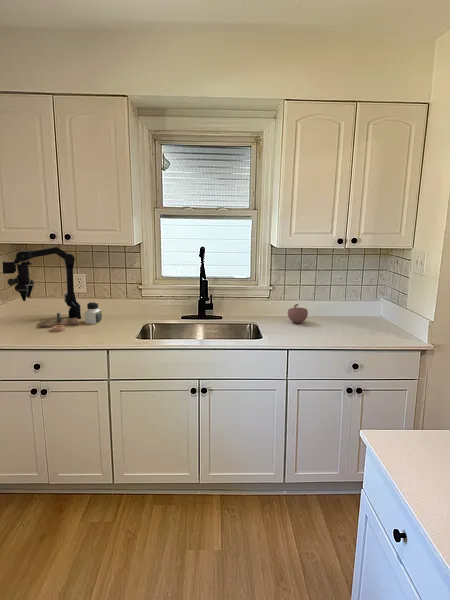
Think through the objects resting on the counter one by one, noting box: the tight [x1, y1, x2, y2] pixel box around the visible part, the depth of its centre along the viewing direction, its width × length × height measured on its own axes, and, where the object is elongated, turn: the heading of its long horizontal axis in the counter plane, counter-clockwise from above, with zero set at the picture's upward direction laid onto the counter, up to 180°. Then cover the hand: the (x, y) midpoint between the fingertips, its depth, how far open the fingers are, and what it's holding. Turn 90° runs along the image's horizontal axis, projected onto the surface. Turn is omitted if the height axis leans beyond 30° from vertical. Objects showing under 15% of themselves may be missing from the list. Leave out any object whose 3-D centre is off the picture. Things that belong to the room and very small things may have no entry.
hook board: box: [39, 312, 79, 329], centre depth 238 cm, size 20×12×6 cm, turn 110°
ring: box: [51, 325, 66, 333], centre depth 226 cm, size 6×6×2 cm
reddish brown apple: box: [287, 303, 309, 324], centre depth 247 cm, size 12×12×12 cm
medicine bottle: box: [84, 301, 103, 325], centre depth 242 cm, size 7×7×12 cm
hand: (26, 299), depth 238 cm, fingers open, 9 cm apart
